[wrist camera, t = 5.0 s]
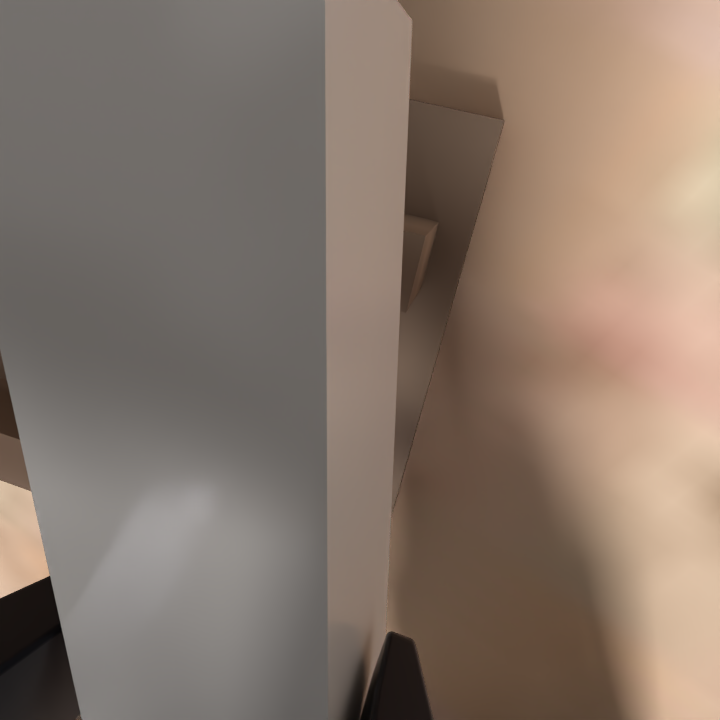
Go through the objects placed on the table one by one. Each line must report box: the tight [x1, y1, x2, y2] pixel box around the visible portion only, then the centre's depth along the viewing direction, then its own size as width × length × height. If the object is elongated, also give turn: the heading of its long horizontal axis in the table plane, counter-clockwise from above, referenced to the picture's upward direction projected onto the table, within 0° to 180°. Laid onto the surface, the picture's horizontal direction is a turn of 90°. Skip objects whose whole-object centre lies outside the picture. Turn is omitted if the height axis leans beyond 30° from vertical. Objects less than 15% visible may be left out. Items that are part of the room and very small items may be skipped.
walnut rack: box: [0, 99, 504, 516], centre depth 19 cm, size 18×20×4 cm
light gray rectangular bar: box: [0, 0, 413, 720], centre depth 8 cm, size 16×3×4 cm, turn 179°
